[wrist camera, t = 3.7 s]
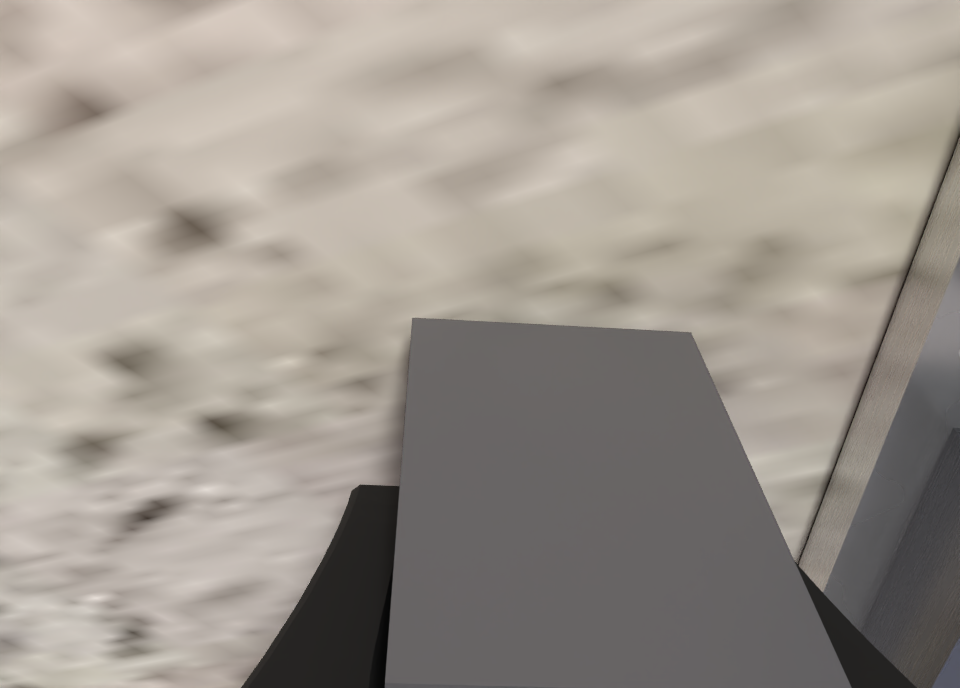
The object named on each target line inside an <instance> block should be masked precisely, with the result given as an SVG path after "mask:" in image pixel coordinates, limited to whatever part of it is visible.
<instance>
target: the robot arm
mask: <svg viewBox="0 0 960 688" xmlns="http://www.w3.org/2000/svg"><path fill="white" fill-rule="evenodd" d="M399 489H400V486H378V485H359V486H358V487H357V488H355V489H354V490H352V492H351V495H350V498H349V502H348V504H347V507H346V510H345V512H344V515H343V517H342V520H341V522H340V524H339V527H338V529H337V531H336V533H335V535H334V538H333V540H332V542H331V544H330V546H329V548H328V550H327V552H326V554H325V556H324V558H323V560H322V561H321V563H320V565H319V567H318V569H317V570H316V572H315V574H314V576H313V577H312V579H311V581H310V583H309V585H308V586H307V588H306V590H305V592H304V593H303V595H302V597H301V599H300V601H299V602H298V604H297V605H296V607H295V609H294V610H293V612H292V614H291V615H290V617H289V618H288V620H287V621H286V623H285V624H284V626H283V627H282V629H281V630H280V632H279V634H278V635H277V637H276V638H275V640H274V641H273V643H272V644H271V646H270V647H269V649H268V650H267V652H266V654H265V655H264V657H263V658H262V659H261V661H260V662H259V664H258V665H257V667H256V668H255V669H254V671H253V672H252V674H251V675H250V676H249V678H248V679H247V681H246V682H245V683H244V685H243V686H242V687H241V688H385V675H386V662H387V648H388V635H389V622H390V609H391V595H392V582H393V569H394V556H395V542H396V529H397V516H398V502H399ZM795 564H796V566H797V568H798V570H799V573H800V575H801V577H802V579H803V581H804V584H805V586H806V588H807V590H808V592H809V595H810V597H811V599H812V601H813V603H814V606H815V608H816V610H817V612H818V615H819V617H820V619H821V621H822V623H823V626H824V628H825V630H826V632H827V634H828V637H829V639H830V641H831V643H832V645H833V648H834V650H835V652H836V654H837V657H838V659H839V661H840V663H841V665H842V668H843V670H844V672H845V674H846V676H847V679H848V681H849V683H850V685H851V687H852V688H917V687H916V686H915V685H914V684H912V683H911V682H910V681H909V680H908V679H907V678H906V677H905V676H904V675H903V674H902V673H901V672H900V671H899V670H898V669H897V668H896V667H895V666H894V665H893V664H892V663H891V662H890V661H889V660H888V659H887V658H886V657H885V656H884V655H883V654H882V653H881V652H879V651H878V650H877V649H876V648H875V647H874V646H873V645H872V644H871V643H870V642H869V641H868V640H867V639H866V638H865V637H864V635H863V634H862V633H861V632H860V631H859V630H858V629H857V628H856V627H855V626H854V625H853V624H852V623H851V622H850V621H849V620H848V619H847V618H846V617H845V616H844V615H843V614H842V613H841V612H840V611H839V609H838V608H837V607H836V606H835V605H834V604H833V603H832V602H831V601H830V600H829V599H828V598H827V596H826V595H825V594H824V593H823V592H822V591H821V590H820V589H819V588H818V587H817V586H816V584H815V583H814V582H813V581H812V580H811V579H810V578H809V577H808V576H807V574H806V573H805V572H804V571H803V570H802V569H801V568H800V567H799V565H798V564H797V563H796V562H795Z"/></svg>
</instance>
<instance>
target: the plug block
mask: <svg viewBox="0 0 960 688" xmlns="http://www.w3.org/2000/svg"><path fill="white" fill-rule="evenodd" d="M385 688H852V687H851V685H850V683H849V681H848V679H847V676H846V674H845V672H844V670H843V668H842V665H841V663H840V661H839V659H838V657H837V654H836V652H835V650H834V648H833V645H832V643H831V641H830V639H829V637H828V634H827V632H826V630H825V628H824V626H823V623H822V621H821V619H820V617H819V615H818V612H817V610H816V608H815V606H814V603H813V601H812V599H811V597H810V595H809V592H808V590H807V588H806V586H805V584H804V581H803V579H802V577H801V575H800V573H799V570H798V568H797V566H796V564H795V561H794V559H793V557H792V555H791V553H790V550H789V548H788V546H787V544H786V542H785V539H784V537H783V535H782V533H781V530H780V528H779V526H778V524H777V522H776V519H775V517H774V515H773V513H772V511H771V508H770V506H769V504H768V502H767V500H766V497H765V495H764V493H763V491H762V488H761V486H760V484H759V482H758V480H757V477H756V475H755V473H754V471H753V469H752V466H751V464H750V462H749V460H748V458H747V455H746V453H745V451H744V449H743V446H742V444H741V442H740V440H739V438H738V435H737V433H736V431H735V429H734V427H733V424H732V422H731V420H730V418H729V415H728V413H727V411H726V409H725V407H724V404H723V402H722V400H721V398H720V396H719V393H718V391H717V389H716V387H715V385H714V382H713V380H712V378H711V376H710V373H709V371H708V369H707V367H706V365H705V362H704V360H703V358H702V356H701V354H700V351H699V349H698V347H697V345H696V343H695V340H694V338H693V336H692V334H691V332H673V331H654V330H635V329H616V328H597V327H578V326H559V325H540V324H521V323H502V322H483V321H464V320H445V319H426V318H412V330H411V343H410V357H409V370H408V383H407V396H406V410H405V423H404V436H403V449H402V463H401V476H400V489H399V502H398V516H397V529H396V542H395V556H394V569H393V582H392V595H391V609H390V622H389V635H388V648H387V662H386V675H385Z"/></svg>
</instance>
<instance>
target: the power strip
mask: <svg viewBox="0 0 960 688" xmlns="http://www.w3.org/2000/svg"><path fill="white" fill-rule="evenodd" d="M799 567H800V568H801V569H802V570H803V571H804V572H805V573H806V574H807V576H808V577H809V578H810V579H811V580H812V581H813V582H814V583H815V584H816V586H817V587H818V588H819V589H820V590H821V591H822V592H823V593H824V594H825V595H826V596H827V598H828V599H829V600H830V601H831V602H832V603H833V604H834V605H835V606H836V607H837V608H838V609H839V611H840V612H841V613H842V614H843V615H844V616H845V617H846V618H847V619H848V620H849V621H850V622H851V623H852V624H853V625H854V626H855V627H856V628H857V629H858V630H859V631H860V632H861V633H862V634H863V635H864V637H865V638H866V639H867V640H868V641H869V642H870V643H871V644H872V645H873V646H874V647H875V648H876V649H877V650H878V651H879V652H881V653H882V654H883V655H884V656H885V657H886V658H887V659H888V660H889V661H890V662H891V663H892V664H893V665H894V666H895V667H896V668H897V669H898V670H899V671H900V672H901V673H902V674H903V675H904V676H905V677H906V678H907V679H908V680H909V681H910V682H911V683H912V684H914V685H915V686H916V687H917V688H960V138H959V141H958V144H957V146H956V149H955V151H954V154H953V157H952V159H951V162H950V165H949V167H948V170H947V173H946V175H945V178H944V181H943V183H942V186H941V189H940V191H939V194H938V197H937V199H936V202H935V204H934V207H933V210H932V212H931V215H930V218H929V220H928V223H927V226H926V228H925V231H924V234H923V236H922V239H921V242H920V244H919V247H918V250H917V252H916V255H915V257H914V260H913V263H912V265H911V268H910V271H909V273H908V276H907V279H906V281H905V284H904V287H903V289H902V292H901V295H900V297H899V300H898V303H897V305H896V308H895V311H894V313H893V316H892V318H891V321H890V324H889V326H888V329H887V332H886V334H885V337H884V340H883V342H882V345H881V348H880V350H879V353H878V356H877V358H876V361H875V364H874V366H873V369H872V371H871V374H870V377H869V379H868V382H867V385H866V387H865V390H864V393H863V395H862V398H861V401H860V403H859V406H858V409H857V411H856V414H855V417H854V419H853V422H852V424H851V427H850V430H849V432H848V435H847V438H846V440H845V443H844V446H843V448H842V451H841V454H840V456H839V459H838V462H837V464H836V467H835V470H834V472H833V475H832V477H831V480H830V483H829V485H828V488H827V491H826V493H825V496H824V499H823V501H822V504H821V507H820V509H819V512H818V515H817V517H816V520H815V523H814V525H813V528H812V531H811V533H810V536H809V538H808V541H807V544H806V546H805V549H804V552H803V554H802V557H801V560H800V562H799Z"/></svg>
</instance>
